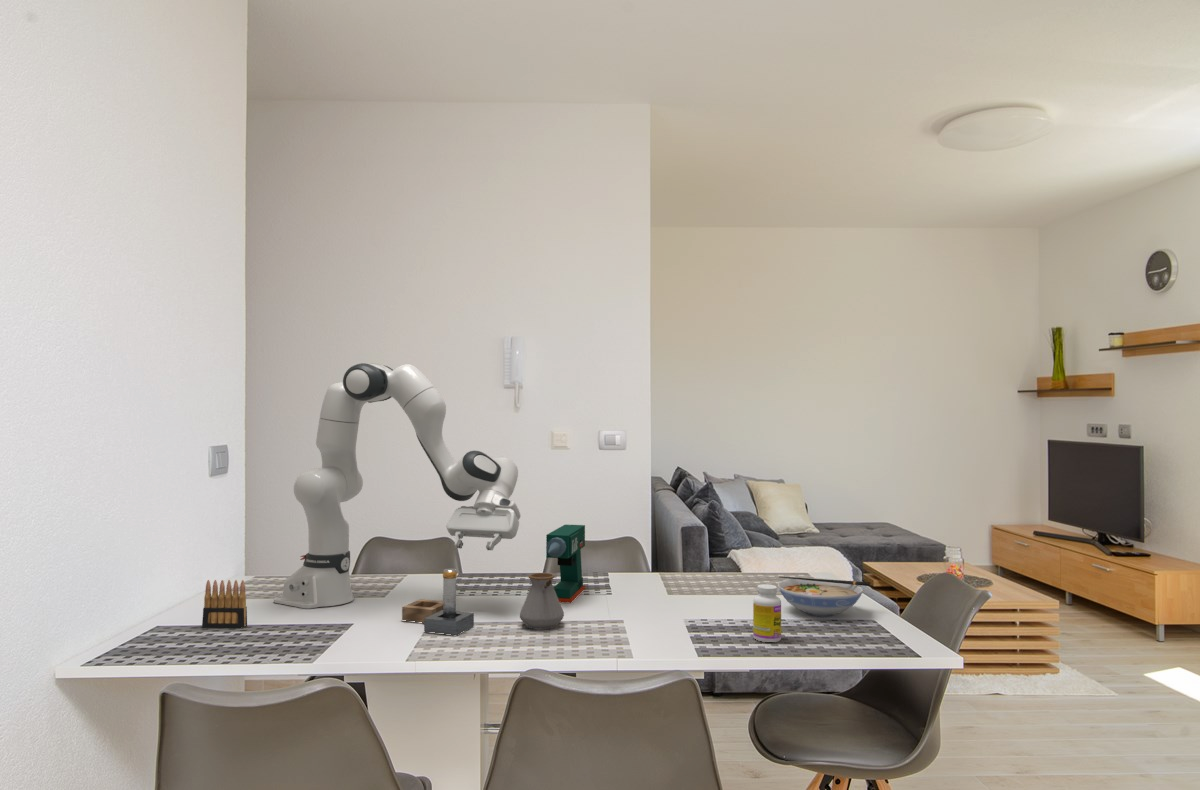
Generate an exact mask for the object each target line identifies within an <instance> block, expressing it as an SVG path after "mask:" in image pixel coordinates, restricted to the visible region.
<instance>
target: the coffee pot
mask: <svg viewBox="0 0 1200 790" xmlns="http://www.w3.org/2000/svg"><path fill="white" fill-rule="evenodd" d="M554 578H555V574H552V573H549V572H548V573H546V572H537V573H531V574H530V575H528V579H529V580H530V582H531V585H530V588H529V591H528V593H527V595H526V598H525V600H524V603H523V605H522V606H521V610H520V613H519V619H520V620H521V621H522V623H524V625H526V627H527V626H528V627H527V628H529V627H530V628H529V629H532V628H534V629H533V630H549V628H551V629H554V628H556V627H557V625H558V624H560V623H561V622H562V621H563V619H564V616H565V611H564V610H563V606H562V605H561V602H559V600H558V597H557V595H556V592H555V590H554V585H556V584H555V583H556V582H553V580H554Z"/></svg>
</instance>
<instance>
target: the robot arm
mask: <svg viewBox="0 0 1200 790" xmlns="http://www.w3.org/2000/svg"><path fill="white" fill-rule="evenodd" d="M392 398H393V399H394V400H395V401H396V402H397V403H398V404H399V406H400V407H401V409H402V410H403V412H404V413H405V414H406V416H407V417H408V419H409V420H410V422H411V425H412V427H413V430H414V432H415V434H416V437H417V440H418V442H419V444H420V446H421V447H422V450H423V451H424V453H425V455H426V456H427V458H428V460H429V461H430V463H431V465H432V466H433V468H434V469H435V472H436V473H437V475H438V476H439V480H440V482H441V486H442V489H443V491H444V493H445V494H446V495H447V497H449V498H451V499H452V500H455V501H458V502H465V501H468V500H470V499H471V498H473V497H474V495H475V494H476V493H477V491H478V492H479V493H478V495H477V497H476V500H475V501H474V504H473V506H466V505H462V506H460V507H458V508H456V509H455V510H454V512H453V513H452V515H451V517H450V518H449V519H448V522H447V523H446V526H445V527H446V530H447V531H448V533H449V535H450V536H452V537H455V540H456V541H455V542H454V547H455V548H456V549H462V548H463V546H464V542H463V540H461V539H463V538H464V537H466V538H467V537H469V538H470V537H472V538H483V539H484V538H488V539H490V538H491V539H492V540H491V541H487V542H486V545H485V549H486V550H487V551H494V549H495V546H497V545H498V544H499V543H501V541H502V539H505V540H506V539H507V540H513V539H514V538H515V537H516V535H517V533H518V532H519V531H518V530H519V526H520V518H521V512H520V509H519V508H518V506H517V504H516V502H515V501H514V500H513V499H512V500H511V499H510V497H512V495H513V493H514V491H515V487H516V485H517V481H518V477H519V470H518V466H517V464H516V463H515V462H514V461H513V460H511V459H510V458H508V457H504V456H501V457H500V456H499V457H494V456H490V455H487V453H484V452H482V451H479V450H470V451H468V452H466V453H465V454H464V455H463V456H462V457H461V458H460V459H459V460H458V462H457V461H456V460H455V458H454V457H453V454H452V453H451V452H450V450H449V448H448V447H447V445H446V443H445V441H444V438H443V425H444V421H445V418H446V414H447V405H446V403H445V401H444V398H443V396H442V395H441V393H440V392H439V390H438V389H437V388H436V387H435V386H434V384H433V382H432V381H430V379H428V377H427V376H426V375H425V374H424V373H423V372H421V370H420V369H418V367H416V366H414V365H413V364H409V363H405V364H402V365H399V366H397V367H396V368H394V369H393V368H392V367H390V366H388V365H382V364H379V363H373V362H372V363H366V362H365V363H362V362H361V363H357V364H355V365H352V366H350V367H349V368H348V369H347V370H346V371H345V372H344V374H343V377H342V381H341V382H340V381H339V382H335V383H332V384H331V385H329V386H328V388H327V389H326V392H325V395H324V398H323V402H322V405H321V409H320V413H319V420H318V426H317V433H316V440H315V445H316V447H317V448H318V450H319V452H320V456H321V467H316V468H311V469H309V470H307V471H305V472H303V473H302V474H300V475H299V476H298V477H297V478H296V480H295V482H294V485H293V494H294V498H295V499H296V500H297V501H298V502H299V503H300V504H301V506H302V508H303V510H304V513H305V516H306V521H307V526H308V552H307V553H306V554H304V555H301V556H300V561H303V560H304V561H303V562H302V563H303V564H302V566H301V567H299V569H297V570H296V571H295V572H293V573H292V574H291V575H290V576H289V577H287V578H286V579H285V581H284V584H283V587H282V594H280V595H278V596H276V597H274V599H273V603H275V604H280V605H287V606H290V607H291V606H292V607H296V608H301V609H313V608H315V609H316V608H319V607H321V608H322V607H323V608H324V607H334V606H340V605H344V604H347V603H350V602H352V601H354V600H355V597H354V593H353V591H352V586H351V578H350V566H351V550H350V548H349V547H350V526H349V523H348V521H347V520H346V519H345V517H344V515H343V512H342V507H341V503H344V502H345V503H346V502H348V501H350V500H351V499H354V498H355V497H356V496H358V495H359V493H360V492H361V491H362V489H363V485H364V481H363V480H364V479H363V476H362V474H361V473H360V471H359V467H358V464H357V463H358V462H357V451H356V450H357V440H358V432H359V424H360V418H361V411H362V408H363V406H364V405H365V404H367V403H368V404H369V403H370V404H371V403H376V402H377V403H378V402H384V401H387V400H390V399H392Z"/></svg>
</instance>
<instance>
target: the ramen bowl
mask: <svg viewBox="0 0 1200 790" xmlns="http://www.w3.org/2000/svg"><path fill="white" fill-rule="evenodd" d="M778 578H780V579H783V580H781V581H778V582H777V588H778V589H779V592H780V593H781V595H782V597H783V598H784V599H785V600H786V602H788V603H789V604H790V605H791V606H792V607H794V608H796V609H798V610H800V611H802V612H805V613H806V614H808V615H811V616H814V617H815V616H816V617H831V616H834V615H835V614H838V613H842V612H845V611H847V610H849V609H850V608H852V607H853V606H854V605H855V604H856V603H857V602H858V601H859V599H860V598H861V597H862V594H863V592H864V590H863V587H862V586H865V587H870V585H871V581H855V580H843V579H842V580H840V579H831V578H821V577H820V578H819V577H818V578H817V577H793V576H792V577H790V576H778Z"/></svg>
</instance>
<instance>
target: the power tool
mask: <svg viewBox="0 0 1200 790" xmlns="http://www.w3.org/2000/svg"><path fill="white" fill-rule="evenodd" d="M585 539H586V525H585V524H564V525H562V526H560V527H557V528H556V529H554V530H553V531H551V532H549V533H547V534H546V540H545V541H546V542H545V544H546V546H545V549H546V551H545V553H546V555H545V556H546V557H545V558H547V559H549V558H550V559H557V566H559V575H560V581H559V582H558V583H556V584H554V585H553V587H554V590H555V592H556V595H557V597H558V600H559V602H560V603H562V602H570V603H569V604H572V603H573V602H574V601H575V600H576V599H577V598H578V597H579V596H578V595H579V594H580V593H581V592H582V591H583V590H584V589H585V590H586V585H585V584H584V577H583V573H582V572H583V571H582V554H581V552H582V551H581V550H582V549H583V548H584V547H585V546H586V540H585ZM583 592H584V591H583ZM583 592H582V593H583ZM582 593H581V594H582ZM581 594H580V595H581ZM577 596H578V597H577ZM576 597H577V598H576ZM575 598H576V599H575ZM574 599H575V600H574ZM573 600H574V601H573ZM572 601H573V602H572ZM571 602H572V603H571Z"/></svg>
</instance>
